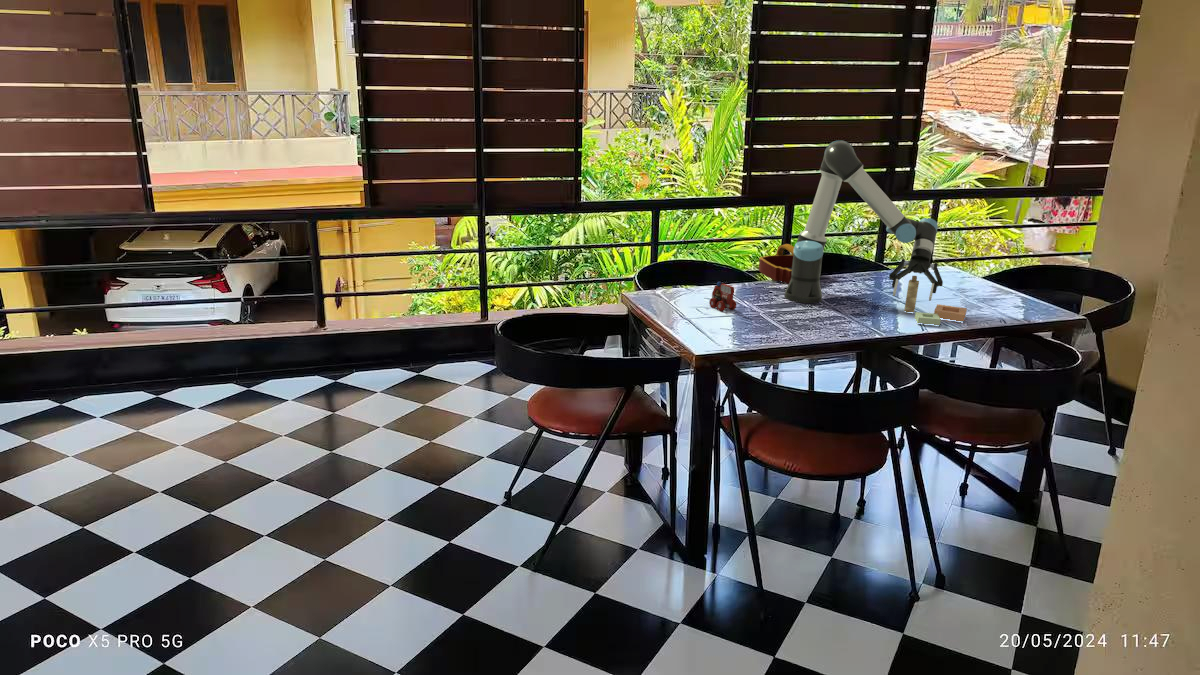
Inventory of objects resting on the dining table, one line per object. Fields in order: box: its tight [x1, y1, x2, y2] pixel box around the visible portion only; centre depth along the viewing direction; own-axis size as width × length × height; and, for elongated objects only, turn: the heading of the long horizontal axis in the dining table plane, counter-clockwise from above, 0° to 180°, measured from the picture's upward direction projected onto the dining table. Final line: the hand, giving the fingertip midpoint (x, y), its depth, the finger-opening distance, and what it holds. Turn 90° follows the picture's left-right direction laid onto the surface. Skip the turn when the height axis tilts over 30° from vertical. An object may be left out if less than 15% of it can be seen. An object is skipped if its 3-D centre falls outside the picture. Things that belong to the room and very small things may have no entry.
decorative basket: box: [758, 243, 795, 285], centre depth 390 cm, size 34×29×15 cm
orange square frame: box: [933, 304, 968, 322], centre depth 331 cm, size 11×11×4 cm
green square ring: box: [914, 311, 942, 325], centre depth 323 cm, size 8×8×3 cm
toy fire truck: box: [709, 281, 737, 312], centre depth 331 cm, size 7×12×10 cm, turn 27°
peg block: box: [903, 275, 920, 313], centre depth 335 cm, size 4×4×15 cm
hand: (911, 296), depth 333 cm, fingers open, 13 cm apart
